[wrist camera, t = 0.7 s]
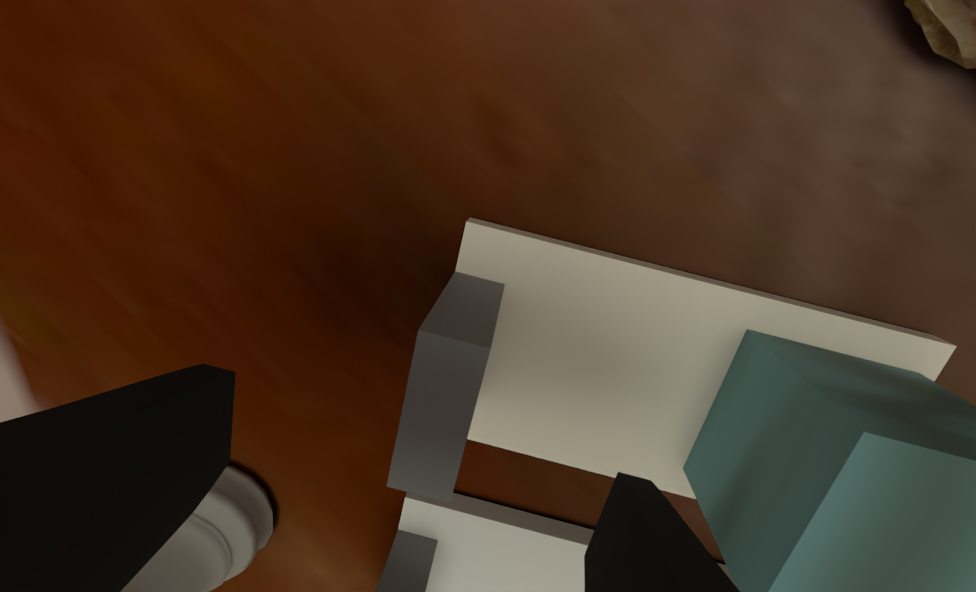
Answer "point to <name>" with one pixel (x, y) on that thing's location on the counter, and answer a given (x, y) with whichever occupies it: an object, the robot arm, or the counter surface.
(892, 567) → the teal block
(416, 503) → the cream and grey bookend
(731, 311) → the cream strip
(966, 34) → the seashell
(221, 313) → the counter surface
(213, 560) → the rook chess piece
